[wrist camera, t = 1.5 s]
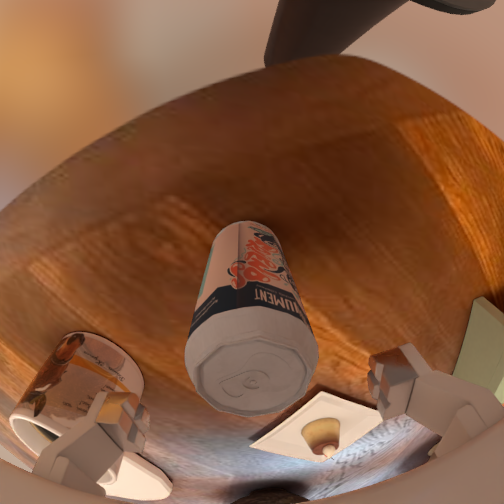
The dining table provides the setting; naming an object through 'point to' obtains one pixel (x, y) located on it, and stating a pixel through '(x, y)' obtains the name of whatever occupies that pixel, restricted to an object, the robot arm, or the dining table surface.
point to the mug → (73, 391)
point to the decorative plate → (139, 480)
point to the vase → (271, 497)
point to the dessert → (320, 429)
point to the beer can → (249, 327)
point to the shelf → (483, 349)
